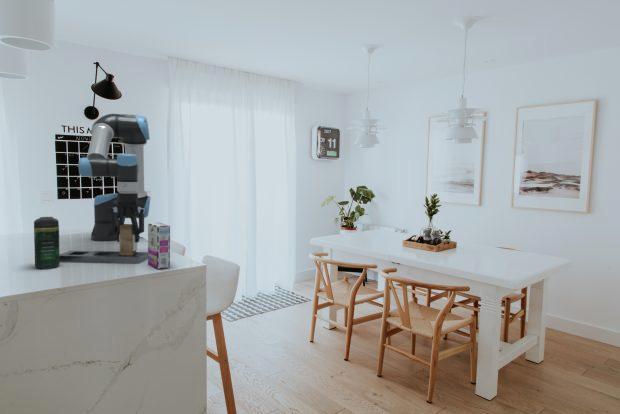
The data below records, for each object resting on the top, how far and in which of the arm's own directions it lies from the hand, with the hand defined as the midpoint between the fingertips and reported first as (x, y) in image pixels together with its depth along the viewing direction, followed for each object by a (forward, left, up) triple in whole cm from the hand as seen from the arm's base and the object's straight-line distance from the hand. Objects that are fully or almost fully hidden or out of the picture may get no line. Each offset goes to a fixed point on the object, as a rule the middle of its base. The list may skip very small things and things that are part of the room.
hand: (128, 250), depth 165 cm
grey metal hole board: (0, -10, -4) cm, 11 cm away
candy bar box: (+8, +15, -5) cm, 18 cm away
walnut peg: (0, 0, -2) cm, 2 cm away
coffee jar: (+12, -25, -5) cm, 28 cm away
